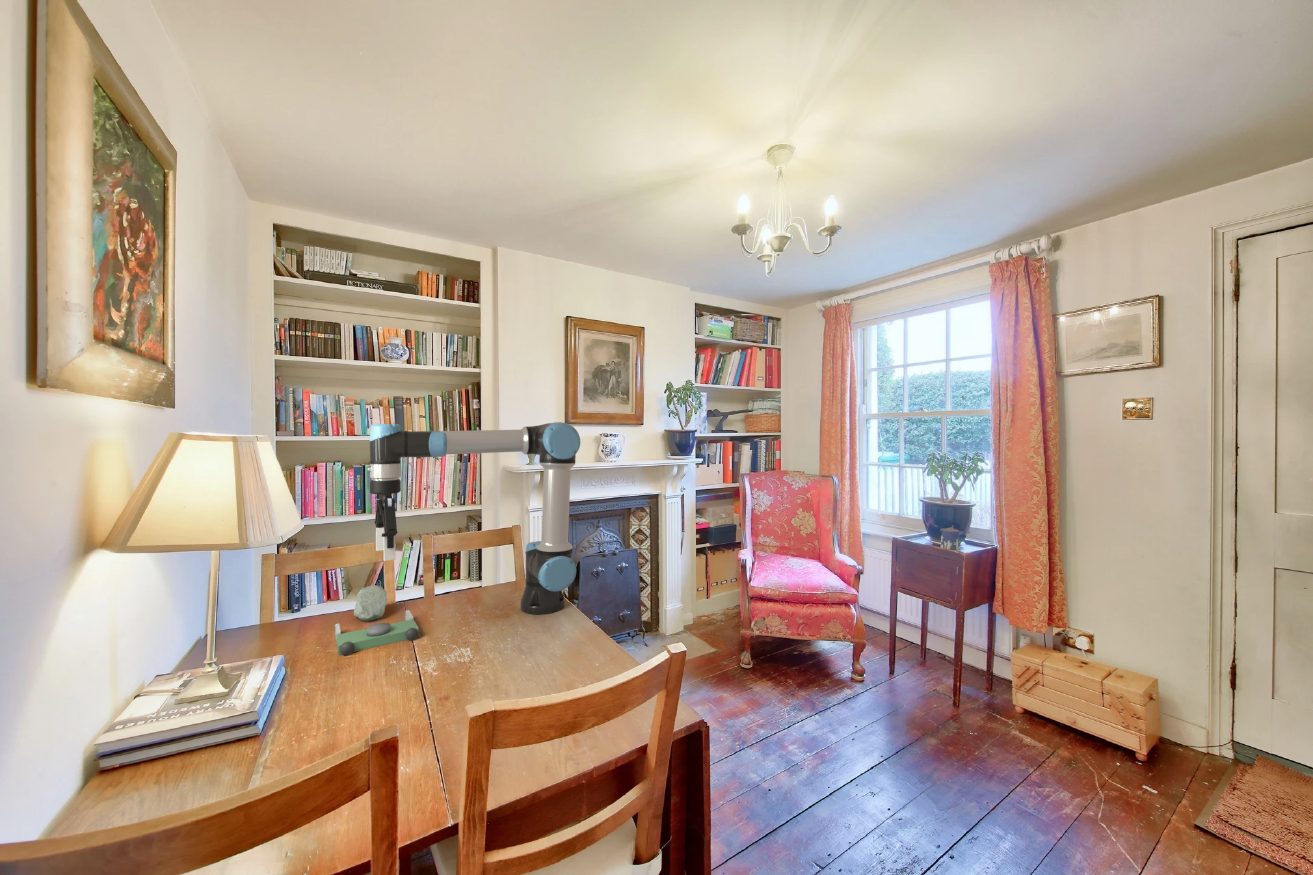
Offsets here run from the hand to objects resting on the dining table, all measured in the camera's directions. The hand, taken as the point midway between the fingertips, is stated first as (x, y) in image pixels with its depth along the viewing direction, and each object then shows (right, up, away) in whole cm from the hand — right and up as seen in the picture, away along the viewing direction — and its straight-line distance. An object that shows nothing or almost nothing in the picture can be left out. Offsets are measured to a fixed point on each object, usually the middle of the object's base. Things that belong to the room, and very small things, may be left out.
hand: (385, 554), depth 132 cm
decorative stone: (-19, -27, +24) cm, 41 cm away
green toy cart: (-8, -27, +9) cm, 29 cm away
